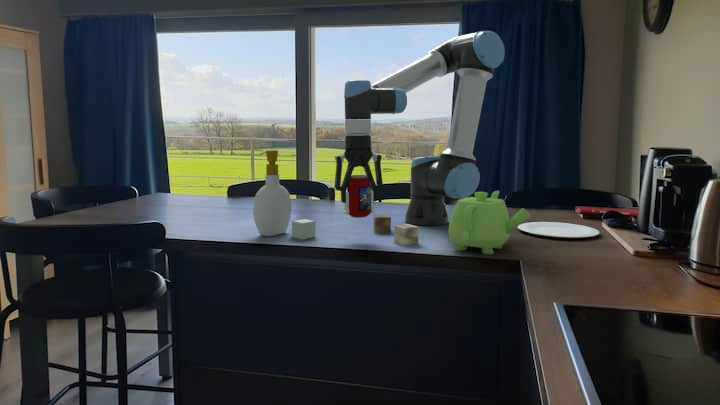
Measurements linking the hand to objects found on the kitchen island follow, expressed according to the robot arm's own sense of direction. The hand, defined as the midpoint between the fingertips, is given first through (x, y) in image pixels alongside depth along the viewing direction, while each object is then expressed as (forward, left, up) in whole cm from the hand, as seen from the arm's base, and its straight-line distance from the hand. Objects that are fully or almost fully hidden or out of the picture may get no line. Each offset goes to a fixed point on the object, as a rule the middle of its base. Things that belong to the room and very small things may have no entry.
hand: (359, 212), depth 159 cm
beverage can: (0, 0, -1) cm, 1 cm away
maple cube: (-12, +7, -8) cm, 17 cm away
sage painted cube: (+16, -7, -8) cm, 19 cm away
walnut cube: (-10, -11, -8) cm, 17 cm away
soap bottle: (+25, -13, -8) cm, 29 cm away
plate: (-65, +3, -9) cm, 66 cm away
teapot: (-33, +19, -8) cm, 39 cm away
